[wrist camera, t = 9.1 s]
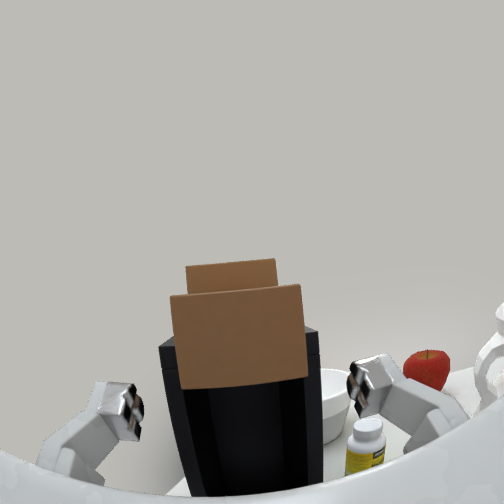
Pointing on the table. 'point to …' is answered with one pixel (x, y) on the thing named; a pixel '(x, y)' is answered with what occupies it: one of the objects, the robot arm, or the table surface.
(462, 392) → the table surface
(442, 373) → the apple
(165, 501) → the robot arm
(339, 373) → the bowl
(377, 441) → the supplement bottle
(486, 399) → the pitcher
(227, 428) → the tall black box
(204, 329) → the brown stepped block
